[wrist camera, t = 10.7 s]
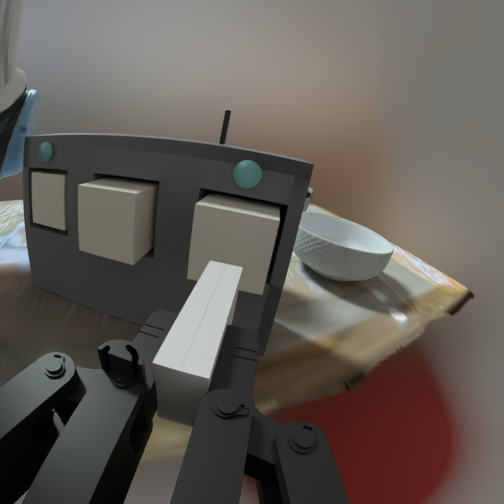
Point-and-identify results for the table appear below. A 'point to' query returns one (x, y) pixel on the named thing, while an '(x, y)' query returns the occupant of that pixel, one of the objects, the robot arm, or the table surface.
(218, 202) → the key right
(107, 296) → the keypad
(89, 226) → the key middle
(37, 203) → the key left
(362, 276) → the cereal bowl
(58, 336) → the table surface
